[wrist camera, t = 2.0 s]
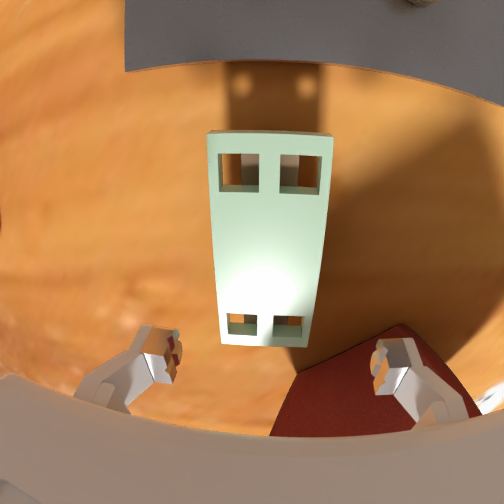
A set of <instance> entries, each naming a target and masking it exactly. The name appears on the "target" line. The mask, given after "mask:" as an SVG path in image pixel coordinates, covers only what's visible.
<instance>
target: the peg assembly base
mask: <svg viewBox="0 0 504 504" xmlns="http://www.w3.org/2000/svg"><path fill="white" fill-rule="evenodd" d="M253 61H262V62H295V63H310V64H322V65H332V66H341V67H349V68H356V69H363V70H369V71H375V72H380V73H386V74H391V75H396V76H400V77H405V78H409V79H414V80H418V81H422V82H426V83H430V84H433V85H437V86H440V87H444V88H447V89H451V90H454V91H457V92H460V93H463V94H466V95H469V96H472V97H475V98H478V99H480V100H483V101H486V102H488V103H491V104H494V105H496V106H500V107H504V0H126V1H125V72H140V71H146V70H152V69H159V68H166V67H174V66H183V65H193V64H204V63H220V62H253Z"/></svg>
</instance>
